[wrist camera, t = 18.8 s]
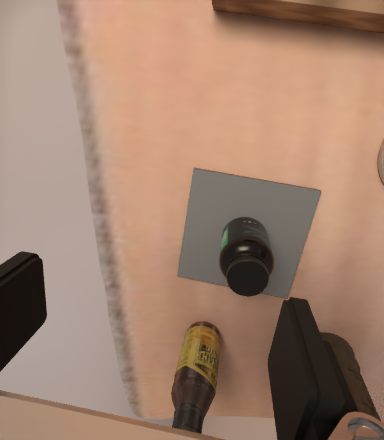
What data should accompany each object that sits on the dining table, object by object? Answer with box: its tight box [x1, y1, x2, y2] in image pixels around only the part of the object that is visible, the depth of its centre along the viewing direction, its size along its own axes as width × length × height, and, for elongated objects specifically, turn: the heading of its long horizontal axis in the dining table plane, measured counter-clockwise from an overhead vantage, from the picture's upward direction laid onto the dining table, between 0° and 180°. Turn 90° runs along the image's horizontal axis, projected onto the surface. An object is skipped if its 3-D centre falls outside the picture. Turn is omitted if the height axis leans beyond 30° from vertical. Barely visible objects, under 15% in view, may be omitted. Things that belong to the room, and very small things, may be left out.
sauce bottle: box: [171, 322, 220, 434], centre depth 44 cm, size 7×6×20 cm
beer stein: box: [320, 333, 381, 421], centre depth 42 cm, size 15×11×20 cm
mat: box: [177, 168, 321, 299], centre depth 45 cm, size 18×18×1 cm
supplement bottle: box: [219, 217, 274, 296], centre depth 39 cm, size 7×7×12 cm
